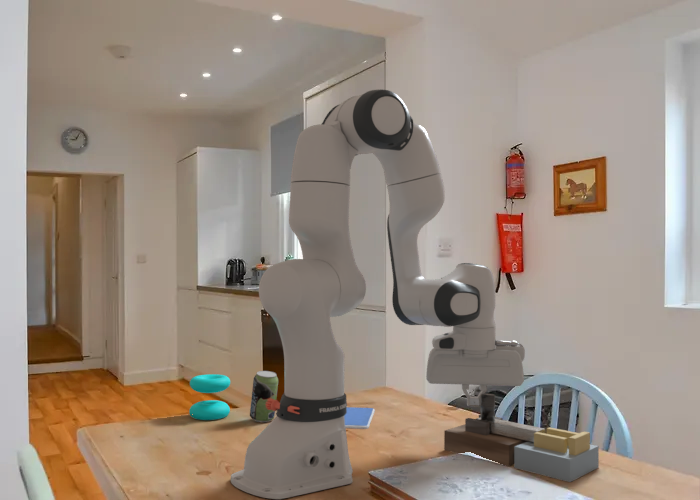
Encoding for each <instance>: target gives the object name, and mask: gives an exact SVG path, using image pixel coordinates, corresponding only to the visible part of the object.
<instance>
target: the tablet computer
mask: <svg viewBox="0 0 700 500" xmlns="http://www.w3.org/2000/svg"><path fill="white" fill-rule="evenodd" d="M375 412H376V409H375V408H373V407H348V406H347V413H346V414H345V415H344V417H345V429H355V430H356V429H357V430H358V429H359V430H368V429H369V428H370V425H371V422H372V420H373V417H374V414H375Z"/></svg>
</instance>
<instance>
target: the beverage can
mask: <svg viewBox="0 0 700 500" xmlns="http://www.w3.org/2000/svg"><path fill="white" fill-rule="evenodd" d="M278 385H279V378H278V376H277V373H276V372H274V371H269V370H260V371H257V372H256V374H255V375H254V377H253V382H252V390H251V391H252V392H251V401H250V409H249V410H250V411H249V416H250V418H251V419H252V420H253V421H255V422H258V423H269V422H270V421H271V420H272V421H273V420H274V419H275V417H276V416H275V415H276V411H273V410H268V409H267V408H266V405H265V404H268V403H266V402H267V400H268V399H269V398H272V399H274V400H277V399H278V398H277V397H278V388H279V386H278ZM272 421H271V422H272Z"/></svg>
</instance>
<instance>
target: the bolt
mask: <svg viewBox="0 0 700 500" xmlns="http://www.w3.org/2000/svg"><path fill="white" fill-rule="evenodd" d="M495 398H496V395H495V394H493V393H485V394H481V407H480V414H481V417H480V418H479V417H476V418H475V419H477V420H482V421H486V422H489V432H490V433H494V434H499V435H503V436H508V437H513V438H517V439H522V440H526V441H531V442H534V433H535V432H540V433H545V434H546V428H543V427H540V426H539V427H538V426H534V425H528V424H523V423H520V422H519V423H518V422H513V421H508V420H504V419H502V420H499V419H495V417H496V413H495V412H496V411H495V410H496V409H495V407H496V399H495Z"/></svg>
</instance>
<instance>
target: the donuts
mask: <svg viewBox="0 0 700 500" xmlns="http://www.w3.org/2000/svg"><path fill="white" fill-rule="evenodd" d="M230 385H231V379H230V377H228V376H227V375H224V374H218V373H217V374H215V373H214V374H213V373H212V374H209V373H208V374H207V373H206V374H200V375H196V376H193V377H192V378H191V379H190V381H189V387H190V388H191V389H192V390H193V391H195V392H197V393H202V394H215V393H221V392H224V391H225V390H227V389H229V387H230ZM188 410H189V411H188V413H189V415H190V417H191V418H193V419H195V420H199V421H214V420H220V419H224V418H227V416H229V414H230V412H231V408H230V406H229V405H228V403H226V402H225V401H222V400H217V399H213V400H212V399H209V400H207V399H206V400H200V401H198V402H197V401H196V402H195V403H193V404H192V405H191V406H190V408H189V409H188ZM192 414H193V415H192Z"/></svg>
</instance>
